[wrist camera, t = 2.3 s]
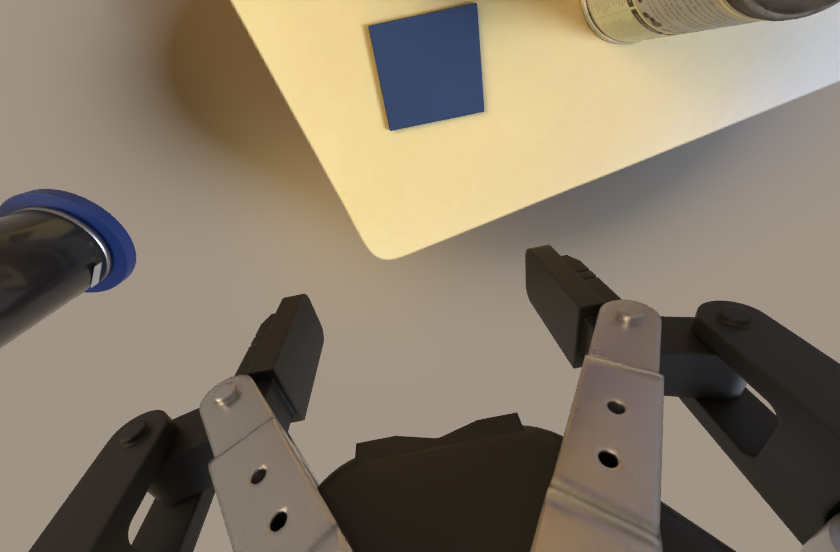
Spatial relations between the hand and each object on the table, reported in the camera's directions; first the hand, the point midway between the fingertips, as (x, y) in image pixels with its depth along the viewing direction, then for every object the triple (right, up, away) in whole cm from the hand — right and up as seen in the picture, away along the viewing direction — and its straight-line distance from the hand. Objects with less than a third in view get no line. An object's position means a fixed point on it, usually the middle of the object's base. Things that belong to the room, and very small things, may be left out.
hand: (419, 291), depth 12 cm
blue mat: (+1, +19, +17) cm, 25 cm away
